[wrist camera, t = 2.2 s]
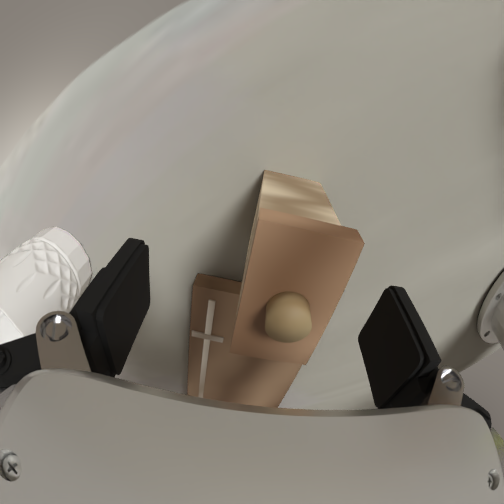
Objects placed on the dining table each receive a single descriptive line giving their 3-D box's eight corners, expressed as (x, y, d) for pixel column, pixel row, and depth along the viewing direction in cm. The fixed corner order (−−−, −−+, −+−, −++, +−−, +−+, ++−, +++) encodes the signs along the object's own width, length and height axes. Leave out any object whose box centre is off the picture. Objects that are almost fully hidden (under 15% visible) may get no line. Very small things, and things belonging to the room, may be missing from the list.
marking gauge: (322, 172, 16) (373, 259, 8) (296, 259, 20) (307, 382, 11) (266, 159, 16) (256, 234, 8) (247, 249, 20) (226, 370, 11)
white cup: (104, 300, 23) (53, 383, 15) (46, 284, 23) (-7, 349, 15) (90, 224, 19) (9, 304, 11) (28, 215, 19) (-45, 276, 11)
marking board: (326, 298, 21) (329, 312, 20) (255, 434, 35) (254, 443, 34) (197, 273, 21) (192, 286, 19) (188, 422, 35) (186, 431, 34)
